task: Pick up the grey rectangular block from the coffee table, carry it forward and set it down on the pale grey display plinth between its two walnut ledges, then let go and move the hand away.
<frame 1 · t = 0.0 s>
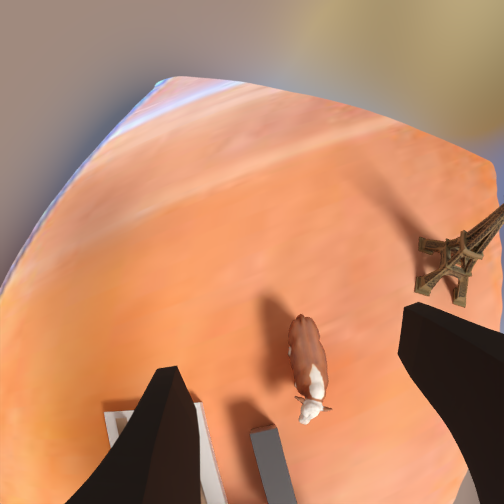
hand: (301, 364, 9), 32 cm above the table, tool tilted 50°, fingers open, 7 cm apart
bull figurine: (303, 372, 38), on the table
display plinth: (170, 481, 31), on the table
eiffel tower: (442, 272, 44), on the table
grey rectangular block: (273, 466, 32), on the table
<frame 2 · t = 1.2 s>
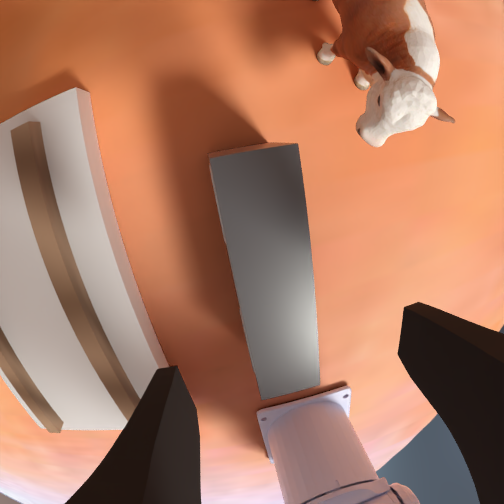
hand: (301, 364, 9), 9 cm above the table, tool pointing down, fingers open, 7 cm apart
bull figurine: (335, 37, 14), on the table
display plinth: (43, 298, 16), on the table
grey rectangular block: (256, 252, 18), on the table
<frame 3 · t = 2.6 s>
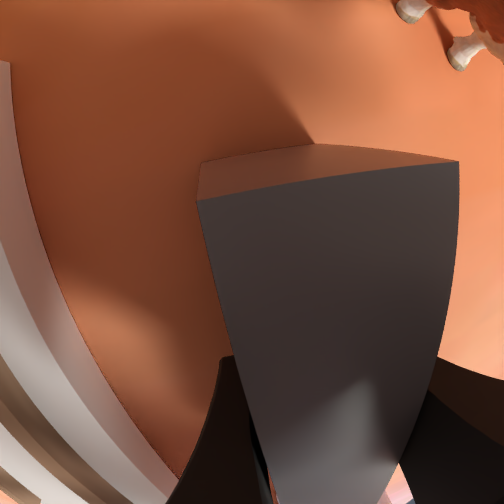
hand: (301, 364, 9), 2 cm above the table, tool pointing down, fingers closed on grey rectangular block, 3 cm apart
grey rectangular block: (286, 332, 10), on the table, touching gripper
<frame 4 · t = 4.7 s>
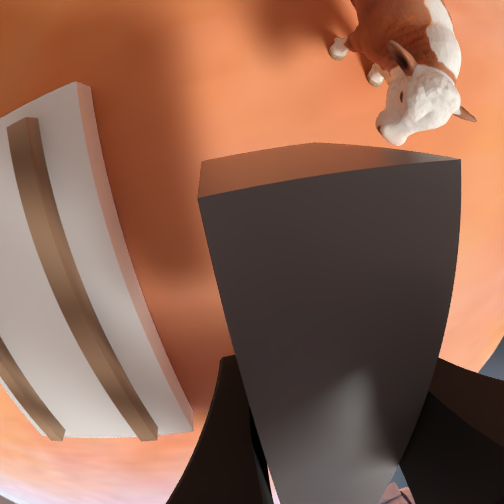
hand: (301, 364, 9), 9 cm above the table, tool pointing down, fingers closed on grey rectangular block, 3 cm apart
bull figurine: (347, 32, 13), on the table
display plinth: (43, 304, 16), on the table
grey rectangular block: (287, 332, 10), point 7 cm above the table, touching gripper
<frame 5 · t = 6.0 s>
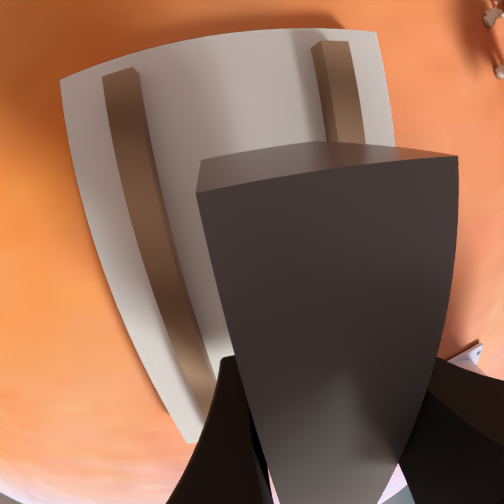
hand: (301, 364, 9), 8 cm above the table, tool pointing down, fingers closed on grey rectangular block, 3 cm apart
bull figurine: (499, 59, 13), on the table
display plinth: (258, 266, 16), on the table
grey rectangular block: (286, 330, 10), point 6 cm above the table, touching gripper
when the fingers open (5 cm above the table, at t = 6.7 s): grey rectangular block drops 1 cm, resting on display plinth.
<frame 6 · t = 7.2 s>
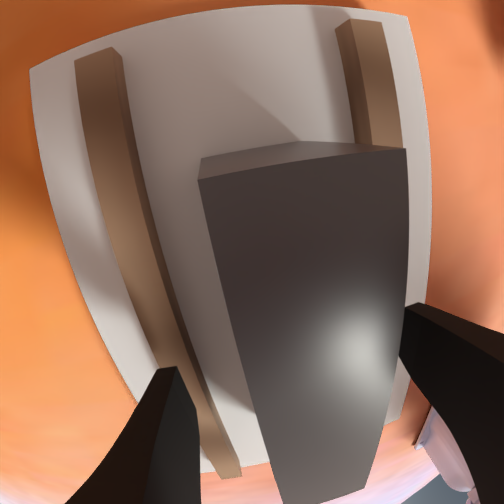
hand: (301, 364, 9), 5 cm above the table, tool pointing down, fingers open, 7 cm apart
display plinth: (268, 290, 13), on the table
grey rectangular block: (279, 312, 11), point 2 cm above the table, touching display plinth
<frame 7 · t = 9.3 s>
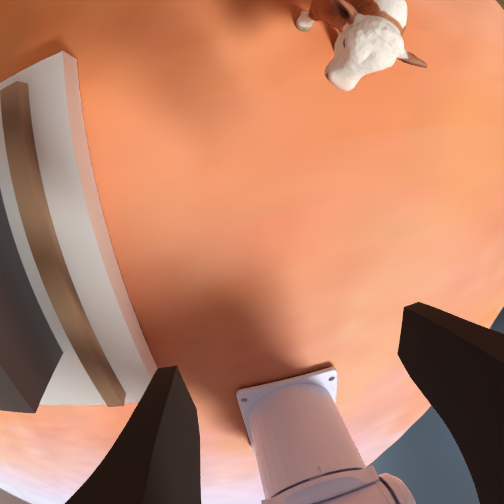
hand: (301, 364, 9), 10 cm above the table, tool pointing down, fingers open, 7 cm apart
bull figurine: (315, 7, 13), on the table
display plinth: (22, 262, 16), on the table
grey rectangular block: (7, 274, 14), point 2 cm above the table, touching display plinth
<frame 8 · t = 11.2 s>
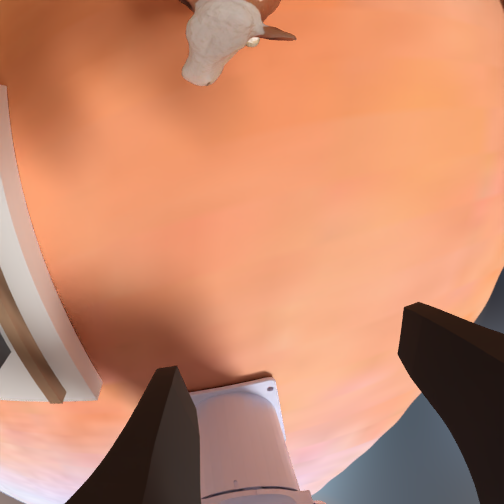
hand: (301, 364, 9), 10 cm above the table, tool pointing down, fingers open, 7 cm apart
bull figurine: (223, 0, 13), on the table
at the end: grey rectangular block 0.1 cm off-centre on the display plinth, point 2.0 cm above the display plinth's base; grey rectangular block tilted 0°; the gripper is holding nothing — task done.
